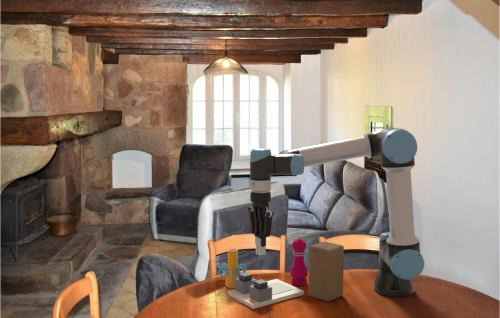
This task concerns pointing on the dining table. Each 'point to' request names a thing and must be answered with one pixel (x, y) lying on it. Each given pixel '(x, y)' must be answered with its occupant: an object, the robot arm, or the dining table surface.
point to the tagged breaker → (260, 284)
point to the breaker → (245, 276)
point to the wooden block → (326, 271)
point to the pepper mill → (299, 262)
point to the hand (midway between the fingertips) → (260, 254)
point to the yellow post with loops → (232, 268)
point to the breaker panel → (263, 292)
